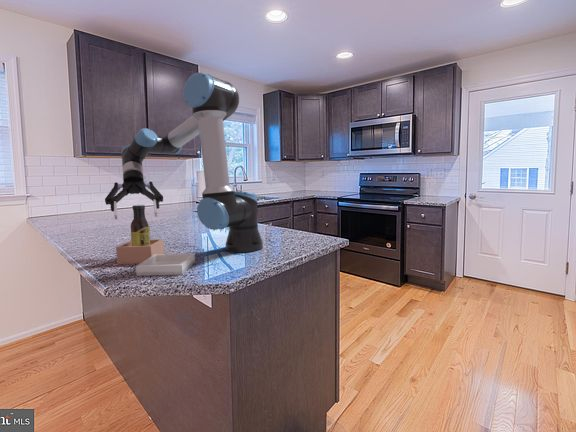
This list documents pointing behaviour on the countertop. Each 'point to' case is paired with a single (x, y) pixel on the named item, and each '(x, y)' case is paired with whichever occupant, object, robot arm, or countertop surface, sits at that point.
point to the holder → (139, 252)
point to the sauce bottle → (140, 227)
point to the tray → (166, 264)
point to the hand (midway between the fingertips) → (136, 215)
